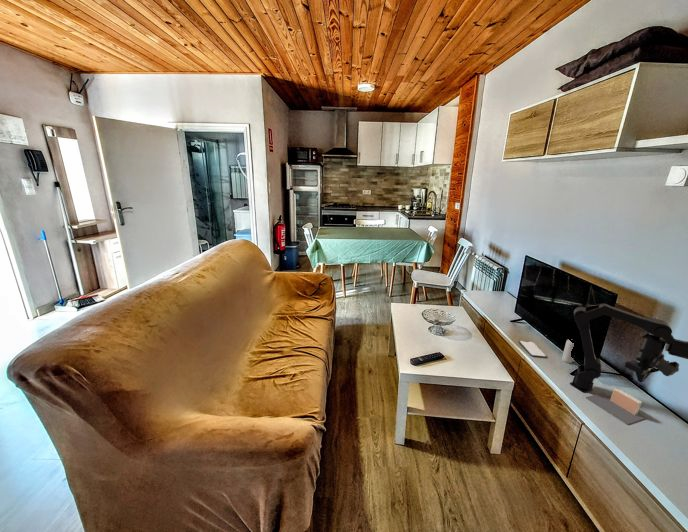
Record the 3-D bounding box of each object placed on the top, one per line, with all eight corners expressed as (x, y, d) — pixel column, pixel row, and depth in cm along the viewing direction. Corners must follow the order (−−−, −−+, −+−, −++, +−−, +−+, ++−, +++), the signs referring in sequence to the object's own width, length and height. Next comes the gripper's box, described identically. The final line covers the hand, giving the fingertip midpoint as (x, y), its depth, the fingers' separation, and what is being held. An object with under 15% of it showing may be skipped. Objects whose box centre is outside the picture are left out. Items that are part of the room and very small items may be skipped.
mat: (585, 398, 134) (585, 397, 134) (603, 393, 138) (603, 392, 138) (627, 424, 120) (627, 423, 120) (645, 418, 124) (646, 417, 124)
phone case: (547, 359, 165) (532, 343, 180) (548, 356, 165) (533, 341, 180) (530, 357, 166) (517, 342, 181) (531, 355, 165) (518, 340, 181)
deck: (610, 400, 133) (613, 388, 131) (613, 399, 134) (617, 388, 132) (634, 414, 125) (638, 402, 123) (637, 413, 126) (642, 402, 124)
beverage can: (559, 359, 164) (565, 340, 161) (564, 357, 166) (569, 338, 163) (569, 364, 160) (575, 344, 157) (573, 362, 163) (579, 342, 159)
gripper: (664, 364, 114) (650, 398, 118) (692, 357, 120) (678, 390, 124) (629, 348, 124) (618, 380, 128) (656, 343, 130) (645, 373, 134)
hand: (640, 381), depth 128 cm, fingers closed
